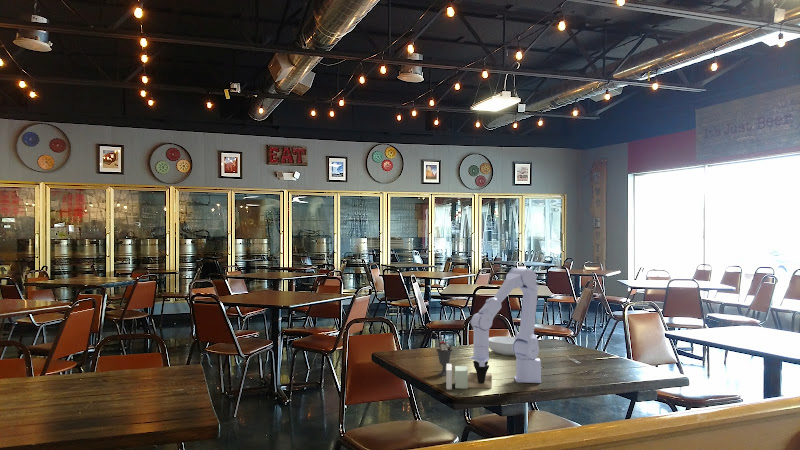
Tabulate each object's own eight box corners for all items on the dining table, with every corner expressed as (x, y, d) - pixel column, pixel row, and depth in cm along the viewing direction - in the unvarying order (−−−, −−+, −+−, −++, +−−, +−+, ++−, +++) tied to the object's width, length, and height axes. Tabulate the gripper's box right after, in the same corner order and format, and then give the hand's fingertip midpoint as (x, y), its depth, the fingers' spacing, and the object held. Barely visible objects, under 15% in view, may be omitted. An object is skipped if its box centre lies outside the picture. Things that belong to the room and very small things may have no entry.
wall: (451, 381, 223) (451, 363, 223) (451, 389, 212) (451, 370, 212) (446, 381, 223) (446, 363, 224) (446, 389, 212) (446, 370, 213)
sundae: (433, 372, 238) (433, 336, 238) (447, 371, 240) (448, 335, 240) (439, 376, 232) (440, 339, 232) (454, 375, 234) (455, 338, 234)
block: (466, 382, 221) (466, 366, 221) (467, 388, 213) (467, 371, 213) (455, 382, 222) (455, 365, 222) (455, 388, 214) (455, 370, 214)
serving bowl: (536, 352, 282) (536, 338, 282) (521, 360, 264) (521, 345, 264) (497, 348, 293) (497, 334, 293) (479, 355, 275) (479, 340, 275)
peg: (490, 385, 218) (490, 373, 219) (491, 388, 215) (491, 375, 215) (459, 384, 219) (459, 372, 220) (459, 387, 215) (459, 374, 216)
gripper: (469, 341, 225) (469, 376, 224) (471, 349, 210) (470, 386, 210) (487, 342, 224) (487, 377, 224) (490, 349, 210) (490, 387, 209)
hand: (480, 381), depth 217 cm, fingers closed on peg, 4 cm apart
